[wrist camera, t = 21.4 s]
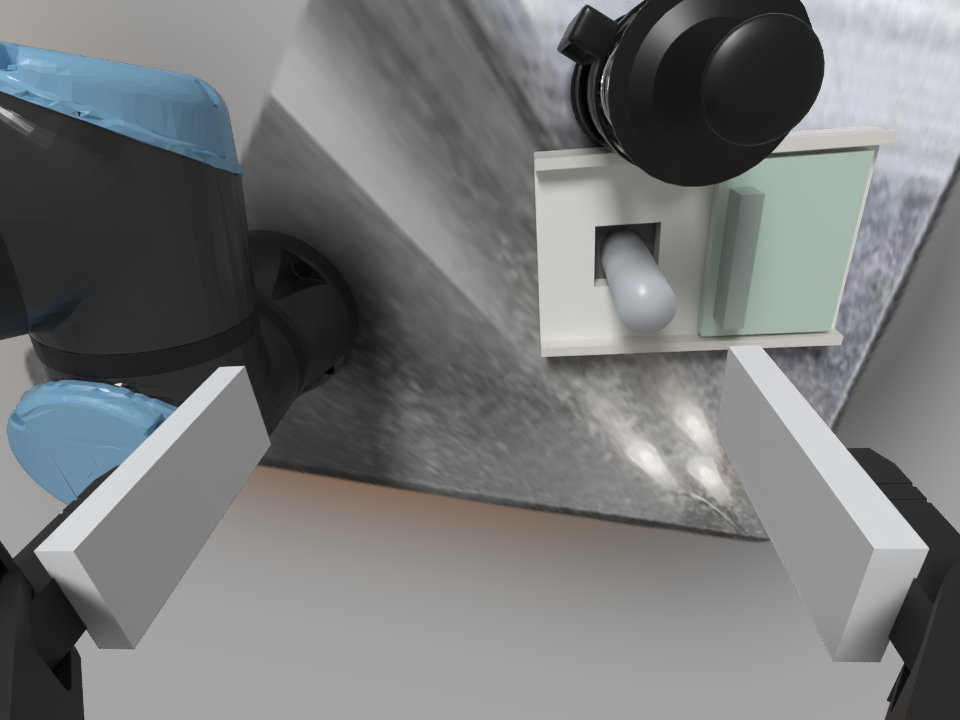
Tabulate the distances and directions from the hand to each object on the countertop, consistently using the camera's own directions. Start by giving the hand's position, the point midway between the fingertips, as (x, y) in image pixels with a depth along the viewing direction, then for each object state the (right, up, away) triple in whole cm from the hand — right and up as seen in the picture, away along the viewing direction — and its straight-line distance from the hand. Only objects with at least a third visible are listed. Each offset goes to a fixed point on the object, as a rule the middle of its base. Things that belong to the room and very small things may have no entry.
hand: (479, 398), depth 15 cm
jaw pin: (+12, +10, +30) cm, 33 cm away
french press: (+11, +21, +25) cm, 34 cm away
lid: (+23, +10, +26) cm, 36 cm away
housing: (+17, +11, +29) cm, 35 cm away
